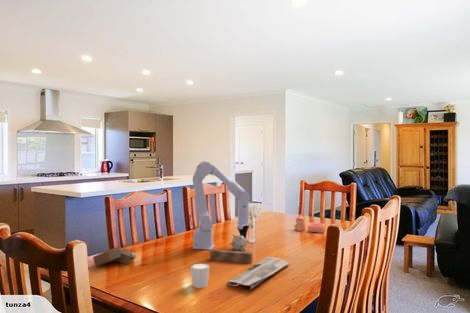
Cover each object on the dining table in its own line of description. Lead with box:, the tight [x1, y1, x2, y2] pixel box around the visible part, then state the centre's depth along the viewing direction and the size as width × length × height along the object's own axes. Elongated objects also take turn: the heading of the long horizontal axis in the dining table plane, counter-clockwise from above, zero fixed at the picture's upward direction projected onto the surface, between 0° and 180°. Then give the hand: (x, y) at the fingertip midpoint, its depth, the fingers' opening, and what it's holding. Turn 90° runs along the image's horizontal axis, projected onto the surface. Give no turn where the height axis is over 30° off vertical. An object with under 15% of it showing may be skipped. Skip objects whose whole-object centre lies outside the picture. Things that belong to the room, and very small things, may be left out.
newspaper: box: [226, 256, 290, 291], centre depth 137 cm, size 35×12×4 cm, turn 150°
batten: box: [209, 249, 253, 264], centre depth 155 cm, size 19×2×4 cm, turn 76°
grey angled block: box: [92, 247, 137, 267], centre depth 151 cm, size 8×13×18 cm
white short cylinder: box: [190, 263, 210, 289], centre depth 126 cm, size 7×7×7 cm
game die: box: [229, 234, 249, 252], centre depth 170 cm, size 9×8×10 cm
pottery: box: [293, 213, 325, 234], centre depth 213 cm, size 18×10×10 cm, turn 72°
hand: (243, 239), depth 179 cm, fingers closed
